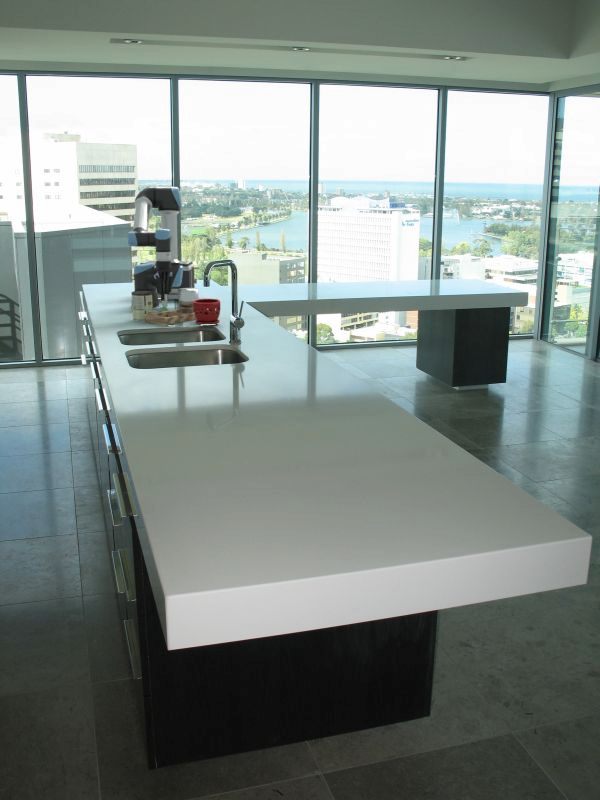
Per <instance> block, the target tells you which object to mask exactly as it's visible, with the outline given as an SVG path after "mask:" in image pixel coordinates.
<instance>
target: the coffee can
mask: <svg viewBox="0 0 600 800" xmlns="http://www.w3.org/2000/svg"><path fill="white" fill-rule="evenodd" d="M131 307H132V308H131V309H132V310H131V311H132V321H133V322H137V321H139V322H141V323H145V321H144V314H150V313H153V311H154V307H153V301H152V292H151V291H135V290H134V291H131Z"/></svg>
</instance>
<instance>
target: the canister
mask: <svg viewBox="0 0 600 800" xmlns="http://www.w3.org/2000/svg"><path fill="white" fill-rule="evenodd" d="M198 299H199V288H181V289H178V300H177V301H178V302H177V306H178V309H179V312H180V313H186V314H191V313H194V308H193V301H195V300H198Z"/></svg>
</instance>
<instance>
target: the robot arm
mask: <svg viewBox="0 0 600 800" xmlns="http://www.w3.org/2000/svg"><path fill="white" fill-rule="evenodd" d="M182 202H183V201H182V196H181V190H180V188H179V187H177V186H154V185H153V186H147V187H145V188H144V189H142V190H141V191H139V193H138V194H137V195H136V197H135V199H134V208H135V212H134V219H133V226H132V230H131V231H128V232H127V244H128V246H129V247H135V248H137V247H139V248H140V247H143V248H145V247H150V248H151V247H152V248H153V247H155V261H156V266H155V263H146V264H136V265H135V266H134V268H133V279H134V280H133V283H134V291H151V292H152V301H153V308H157V307H156V306H158V307H160V306H159V305H160V301H161V307H169V305H168V303H169V302H168V301H169V300H168V294H170V292H171V290H172V287H179V286H180V285H181V282H182V275H183V266H180V262H179V261H180V260H179V259H178V215H179V213H180V211H181V210H182V209H183V204H182ZM152 209H157V212H158V213H159V214H160V228H156V229H155V231H149V223H150V216H151V215H150V214H151V211H152ZM156 288H157V293H159V294H161V299H158V297H157V294H156Z"/></svg>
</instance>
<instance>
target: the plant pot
mask: <svg viewBox="0 0 600 800" xmlns="http://www.w3.org/2000/svg"><path fill="white" fill-rule="evenodd" d="M193 308H194V314H195V317H196V320H195V324H198V325H200V324H217V323H218V324H219V323H220V319H219V317H220V314H221V300H220V299H217V298H198V300H195V301H193ZM218 324H217V325H218Z"/></svg>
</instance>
